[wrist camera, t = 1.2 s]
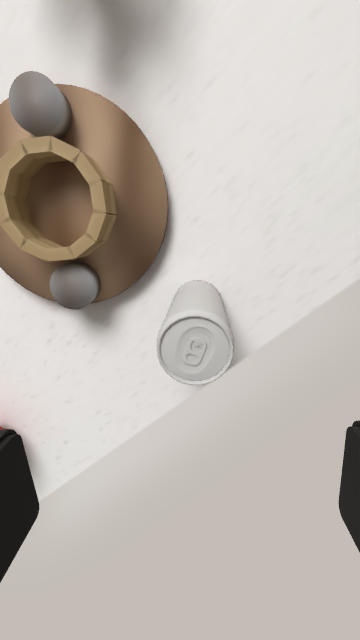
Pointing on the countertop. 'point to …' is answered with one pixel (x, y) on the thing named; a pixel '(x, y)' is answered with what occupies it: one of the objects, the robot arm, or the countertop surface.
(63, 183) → the carrier
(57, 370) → the countertop surface
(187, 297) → the beverage can
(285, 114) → the countertop surface
